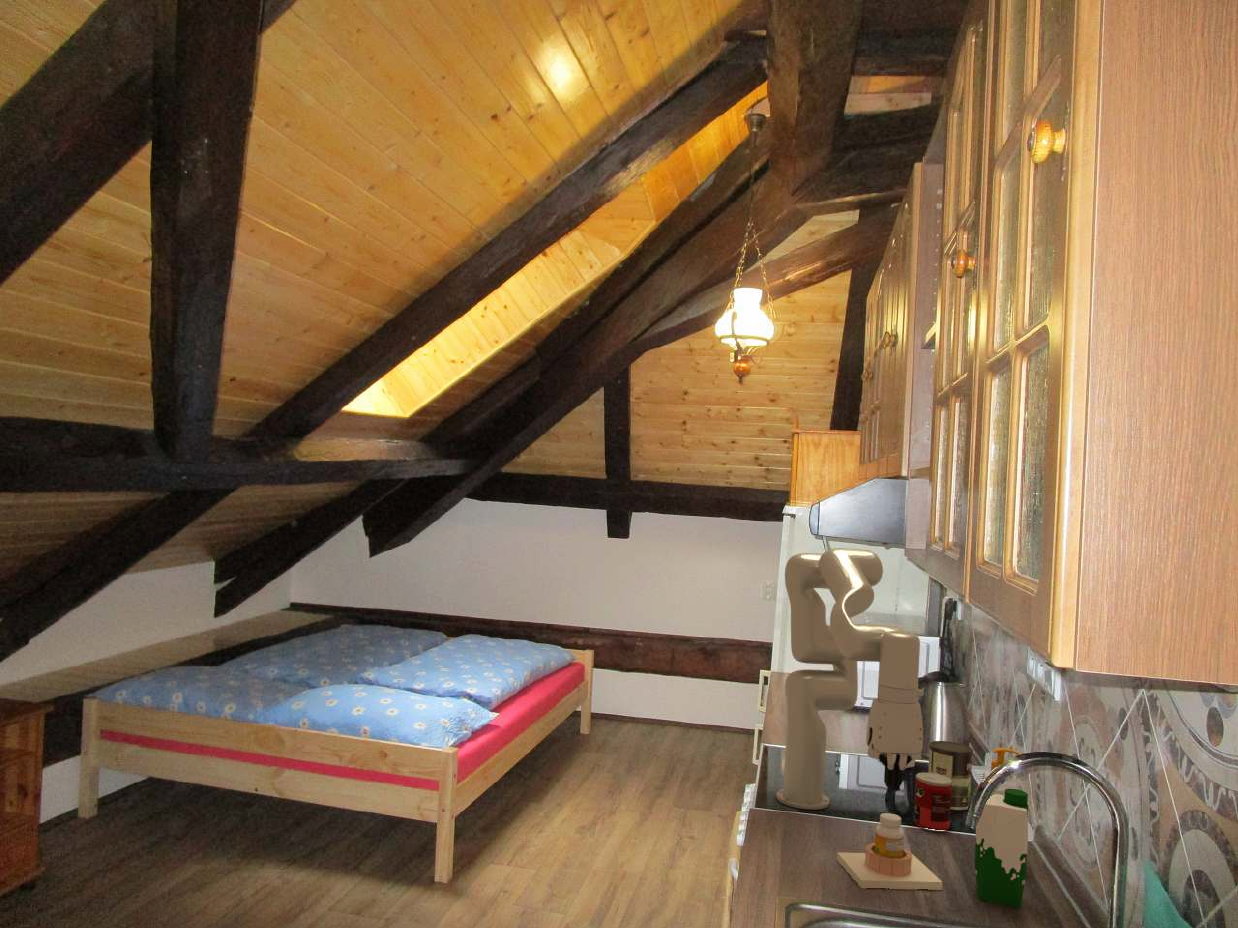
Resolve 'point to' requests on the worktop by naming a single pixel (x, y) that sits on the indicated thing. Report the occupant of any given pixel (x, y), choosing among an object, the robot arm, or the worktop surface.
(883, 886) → the coaster board
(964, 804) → the coffee can
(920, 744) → the robot arm
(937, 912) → the worktop surface
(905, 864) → the bottle collar
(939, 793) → the canned food
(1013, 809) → the milk carton
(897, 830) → the supplement bottle
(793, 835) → the worktop surface
